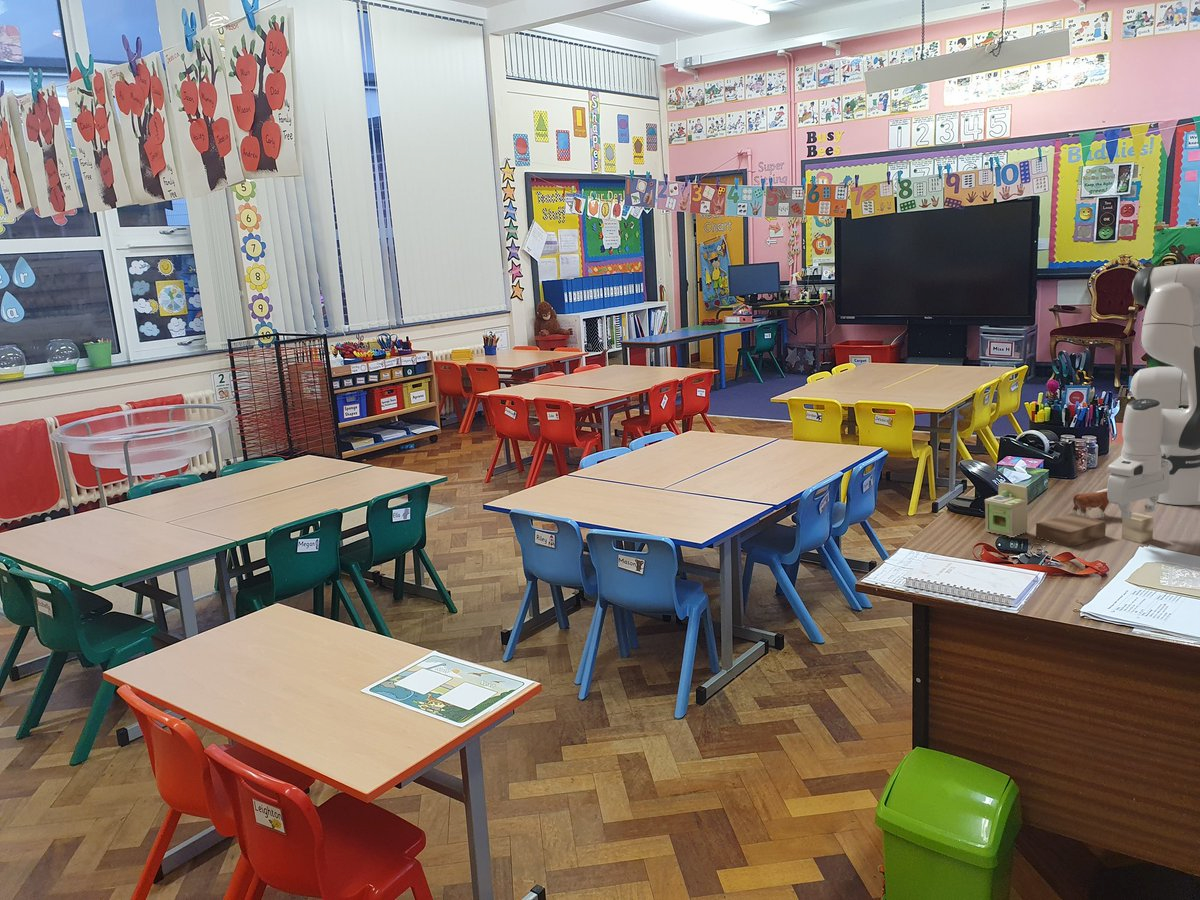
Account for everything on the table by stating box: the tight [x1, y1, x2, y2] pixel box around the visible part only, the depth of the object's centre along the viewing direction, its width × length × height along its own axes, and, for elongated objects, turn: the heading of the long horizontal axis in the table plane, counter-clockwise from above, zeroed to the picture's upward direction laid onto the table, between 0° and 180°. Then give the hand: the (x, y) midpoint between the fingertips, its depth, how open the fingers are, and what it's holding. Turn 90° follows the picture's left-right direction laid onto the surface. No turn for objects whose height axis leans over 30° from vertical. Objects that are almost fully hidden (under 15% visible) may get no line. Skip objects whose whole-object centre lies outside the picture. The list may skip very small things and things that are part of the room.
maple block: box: [1121, 512, 1155, 544], centre depth 232 cm, size 5×5×6 cm
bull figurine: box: [1072, 488, 1111, 518], centre depth 251 cm, size 4×13×8 cm, turn 89°
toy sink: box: [984, 481, 1028, 536], centre depth 244 cm, size 9×7×13 cm
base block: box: [1035, 513, 1107, 548], centre depth 237 cm, size 14×10×4 cm
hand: (1138, 515), depth 231 cm, fingers open, 8 cm apart
